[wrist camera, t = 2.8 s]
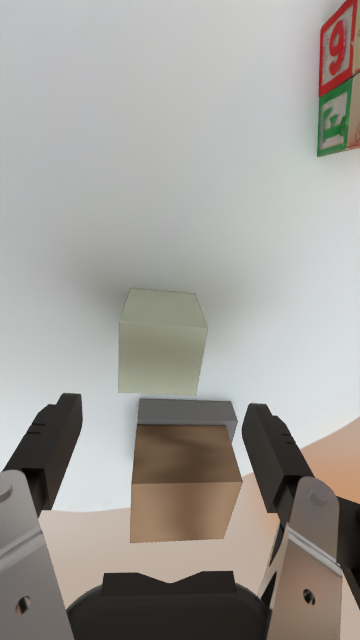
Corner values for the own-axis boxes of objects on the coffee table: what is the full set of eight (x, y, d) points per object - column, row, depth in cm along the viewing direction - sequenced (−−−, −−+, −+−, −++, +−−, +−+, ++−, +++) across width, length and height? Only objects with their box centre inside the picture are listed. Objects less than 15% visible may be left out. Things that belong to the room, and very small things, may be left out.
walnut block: (134, 481, 25) (129, 543, 21) (136, 425, 22) (131, 484, 17) (212, 480, 26) (223, 538, 22) (226, 425, 23) (242, 481, 18)
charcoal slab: (136, 456, 28) (134, 483, 25) (140, 394, 24) (137, 419, 22) (214, 457, 29) (220, 483, 26) (229, 397, 25) (237, 421, 23)
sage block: (129, 343, 21) (118, 392, 16) (130, 287, 19) (118, 321, 14) (186, 347, 22) (195, 395, 16) (194, 293, 20) (207, 328, 14)
